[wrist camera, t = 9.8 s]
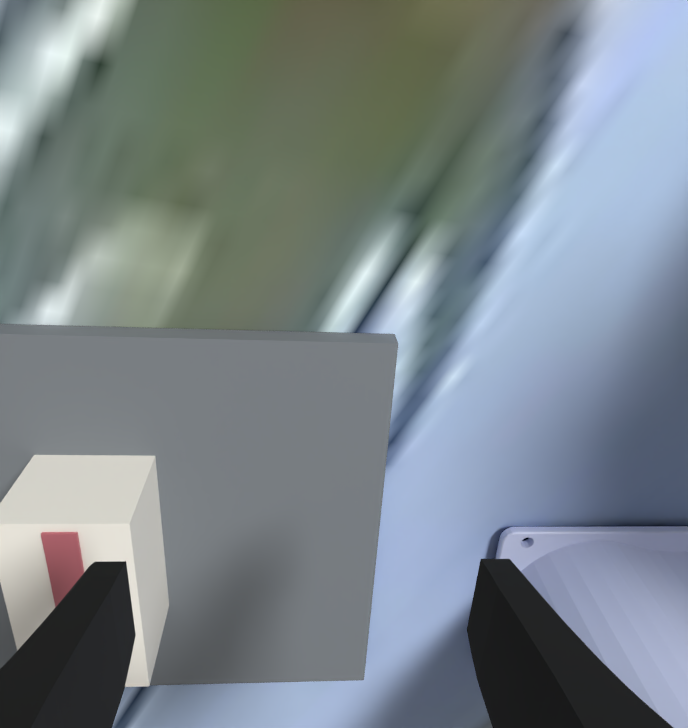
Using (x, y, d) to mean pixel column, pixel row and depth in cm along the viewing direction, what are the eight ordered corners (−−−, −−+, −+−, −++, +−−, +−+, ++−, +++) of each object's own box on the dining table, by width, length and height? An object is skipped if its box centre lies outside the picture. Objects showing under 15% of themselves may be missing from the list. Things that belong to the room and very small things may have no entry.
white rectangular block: (169, 605, 24) (148, 689, 20) (63, 606, 23) (25, 692, 20) (155, 455, 21) (128, 526, 17) (33, 454, 20) (-17, 526, 17)
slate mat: (394, 333, 20) (398, 343, 20) (362, 664, 27) (363, 679, 26) (-250, 317, 19) (-272, 327, 18) (-112, 674, 25) (-124, 691, 25)
